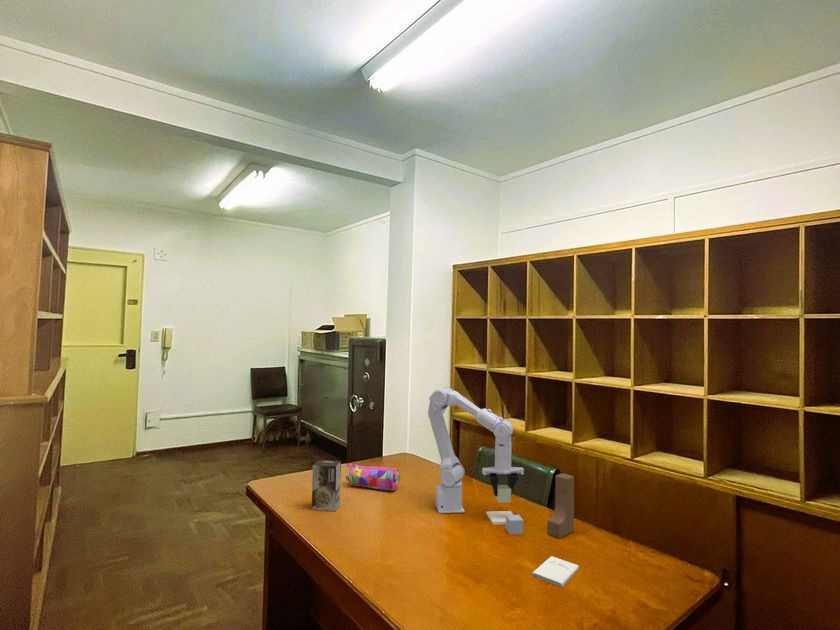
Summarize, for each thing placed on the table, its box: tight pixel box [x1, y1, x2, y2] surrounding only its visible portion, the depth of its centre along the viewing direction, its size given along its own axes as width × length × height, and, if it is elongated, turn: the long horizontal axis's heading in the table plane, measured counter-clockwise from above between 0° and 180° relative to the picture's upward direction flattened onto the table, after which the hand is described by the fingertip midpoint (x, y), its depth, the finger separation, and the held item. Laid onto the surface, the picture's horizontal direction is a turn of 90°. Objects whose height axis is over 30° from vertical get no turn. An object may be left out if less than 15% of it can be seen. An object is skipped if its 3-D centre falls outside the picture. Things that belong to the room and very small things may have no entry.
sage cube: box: [494, 484, 512, 504], centre depth 157 cm, size 4×4×4 cm
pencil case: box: [345, 462, 401, 492], centre depth 186 cm, size 22×9×9 cm, turn 74°
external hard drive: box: [531, 556, 580, 588], centre depth 122 cm, size 2×8×12 cm
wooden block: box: [546, 473, 575, 539], centre depth 147 cm, size 9×4×18 cm, turn 131°
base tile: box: [485, 510, 515, 526], centre depth 157 cm, size 9×9×2 cm
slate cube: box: [505, 514, 525, 535], centre depth 147 cm, size 4×4×4 cm
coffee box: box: [311, 459, 342, 512], centre depth 164 cm, size 9×6×16 cm
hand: (502, 495), depth 157 cm, fingers closed on sage cube, 4 cm apart
